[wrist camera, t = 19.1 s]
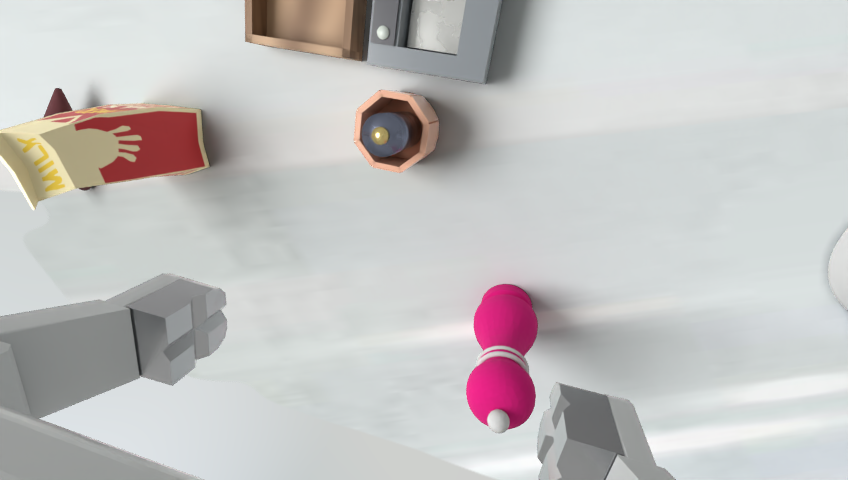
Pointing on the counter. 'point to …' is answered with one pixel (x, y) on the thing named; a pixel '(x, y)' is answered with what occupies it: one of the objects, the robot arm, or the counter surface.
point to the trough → (308, 26)
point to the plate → (436, 25)
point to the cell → (391, 132)
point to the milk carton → (102, 147)
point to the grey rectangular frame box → (468, 64)
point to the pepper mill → (503, 359)
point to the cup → (397, 103)
